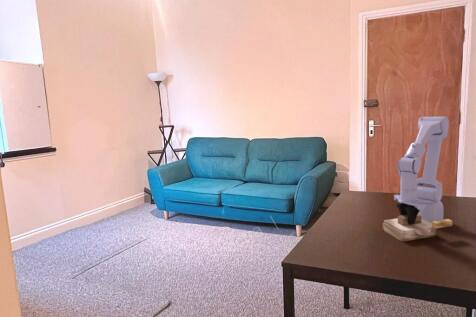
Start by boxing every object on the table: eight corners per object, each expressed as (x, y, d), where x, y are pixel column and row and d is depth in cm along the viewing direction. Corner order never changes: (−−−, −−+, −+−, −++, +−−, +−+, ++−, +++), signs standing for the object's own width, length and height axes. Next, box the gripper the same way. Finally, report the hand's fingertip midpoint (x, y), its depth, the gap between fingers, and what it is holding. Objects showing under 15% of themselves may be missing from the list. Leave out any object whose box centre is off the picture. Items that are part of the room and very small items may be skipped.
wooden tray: (413, 225, 140) (413, 218, 139) (435, 236, 128) (435, 228, 128) (382, 230, 137) (382, 223, 137) (402, 241, 126) (402, 234, 125)
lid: (415, 218, 139) (415, 208, 139) (442, 231, 125) (443, 221, 124) (383, 222, 137) (384, 213, 137) (408, 236, 123) (408, 226, 122)
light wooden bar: (448, 224, 128) (448, 218, 128) (452, 225, 126) (452, 220, 126) (431, 226, 127) (431, 221, 126) (435, 228, 125) (436, 223, 125)
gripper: (387, 185, 136) (387, 217, 138) (412, 194, 122) (412, 230, 124) (403, 183, 137) (402, 215, 140) (429, 192, 123) (428, 227, 126)
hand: (408, 222), depth 132 cm, fingers closed on lid, 3 cm apart
